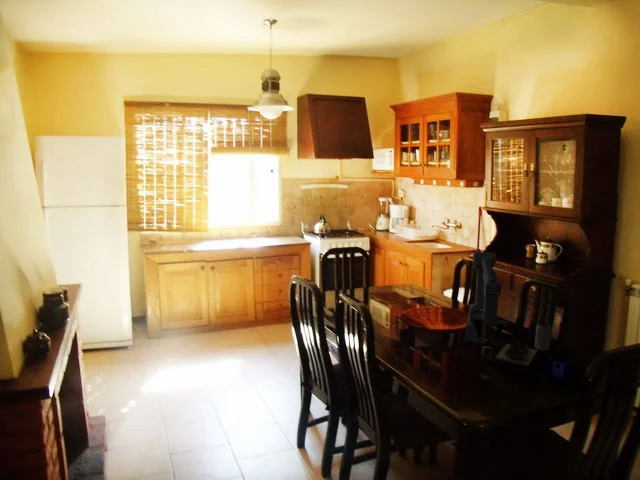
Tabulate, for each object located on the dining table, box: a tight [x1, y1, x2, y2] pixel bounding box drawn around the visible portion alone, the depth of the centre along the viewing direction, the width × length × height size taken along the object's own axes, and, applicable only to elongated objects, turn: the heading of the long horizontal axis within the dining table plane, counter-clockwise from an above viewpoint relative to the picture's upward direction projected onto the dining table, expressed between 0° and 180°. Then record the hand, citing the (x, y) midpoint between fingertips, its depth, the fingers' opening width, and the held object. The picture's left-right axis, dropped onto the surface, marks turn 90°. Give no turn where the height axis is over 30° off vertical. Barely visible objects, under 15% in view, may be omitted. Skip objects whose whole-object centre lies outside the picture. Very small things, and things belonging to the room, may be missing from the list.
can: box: [534, 321, 552, 352], centre depth 250 cm, size 6×6×12 cm
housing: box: [495, 342, 538, 367], centre depth 241 cm, size 14×20×3 cm
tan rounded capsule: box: [480, 345, 493, 364], centre depth 234 cm, size 4×4×6 cm
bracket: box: [545, 355, 572, 384], centre depth 223 cm, size 18×8×9 cm, turn 156°
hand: (488, 339), depth 233 cm, fingers open, 7 cm apart
